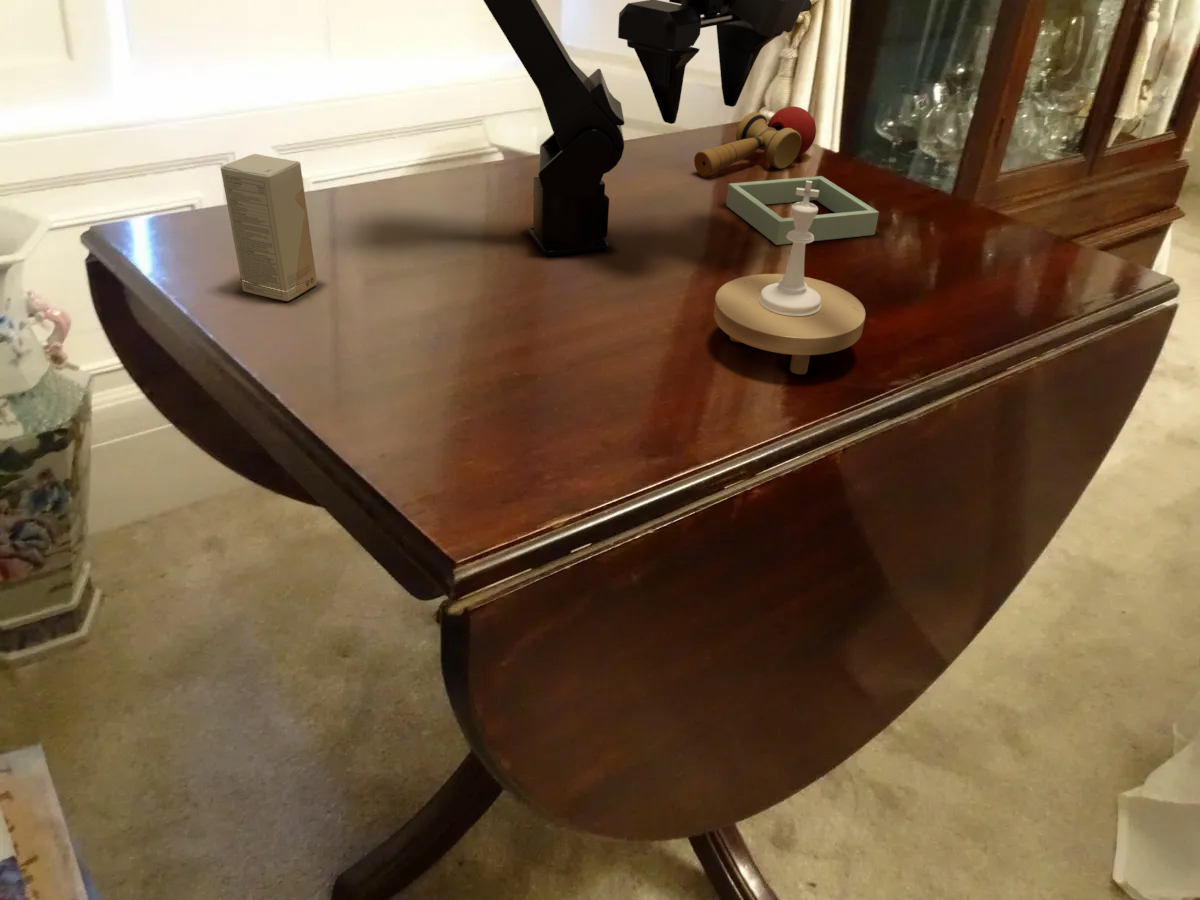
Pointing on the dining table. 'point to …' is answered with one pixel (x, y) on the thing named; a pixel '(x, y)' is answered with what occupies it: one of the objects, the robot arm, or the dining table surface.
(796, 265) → the chess piece
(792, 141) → the kendama
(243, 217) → the box
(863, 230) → the square frame
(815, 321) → the stool
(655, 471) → the dining table surface
